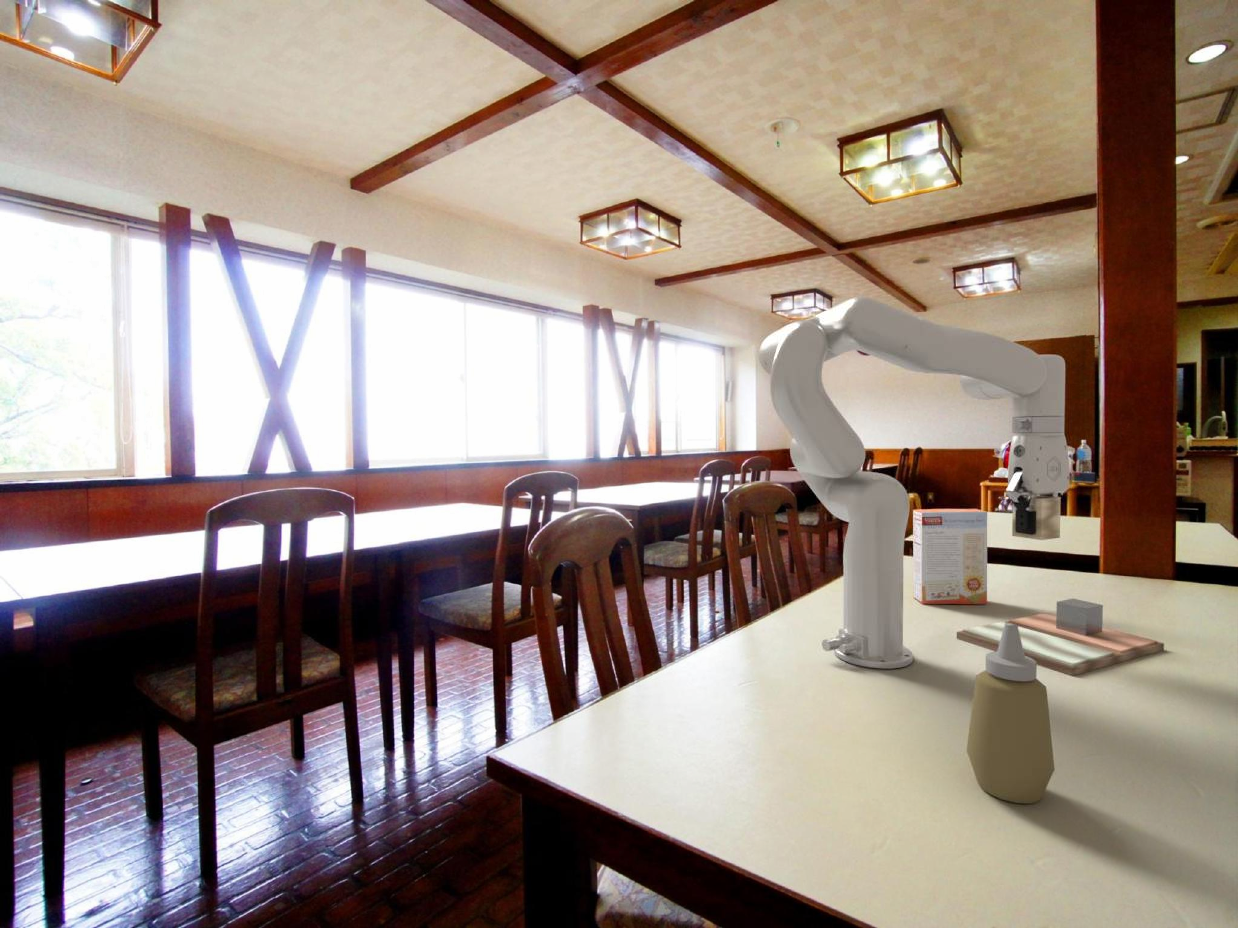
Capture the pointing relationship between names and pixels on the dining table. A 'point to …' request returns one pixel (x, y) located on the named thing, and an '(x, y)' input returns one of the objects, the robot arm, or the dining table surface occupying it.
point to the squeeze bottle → (1010, 725)
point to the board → (1064, 644)
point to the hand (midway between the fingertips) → (1036, 531)
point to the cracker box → (950, 556)
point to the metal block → (1079, 617)
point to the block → (1043, 518)
